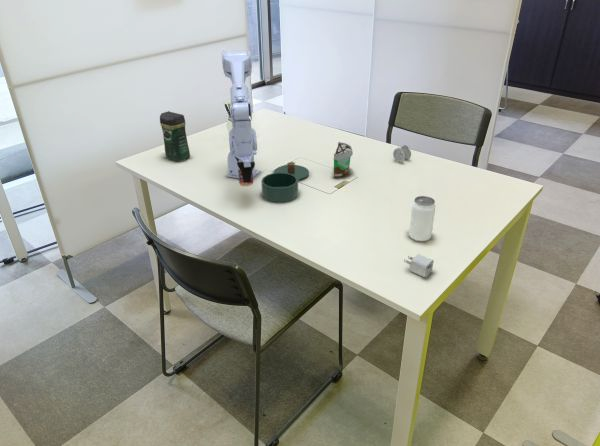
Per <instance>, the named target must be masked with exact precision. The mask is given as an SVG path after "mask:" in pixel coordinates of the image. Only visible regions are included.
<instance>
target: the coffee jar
mask: <svg viewBox="0 0 600 446" xmlns="http://www.w3.org/2000/svg"><path fill="white" fill-rule="evenodd" d="M159 124H160V127H161V130H162V136H163V144H164V151H165V152H164V154H165V158H166V159H168V160H169V161H174V162H183V161H187V160H188V159H189V158H190V157H191V153H190V148H189V143H188V138H187V132H186V119H185V115H184V114H182V113H177V112H173V111H170V110H169V111H165V112H162V113H161V114H159Z"/></svg>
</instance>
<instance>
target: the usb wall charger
mask: <svg viewBox="0 0 600 446" xmlns="http://www.w3.org/2000/svg"><path fill="white" fill-rule="evenodd" d="M407 259H409V260H407ZM407 259H403V262H404V263H406V264H408V265H410V269H409V271H410V272H412V273H414V274H416V275H419V276H420V277H423V278H427V277H428V276H429V275H430V274H431V273H432V272H433V267H434V260H433V258H429V257H427V256H425V255H423V254H419V253H418V254H416V255H415V256H414V257H412V256H409V255H408V256H407ZM410 260H411V261H410Z"/></svg>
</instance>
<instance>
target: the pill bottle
mask: <svg viewBox="0 0 600 446" xmlns="http://www.w3.org/2000/svg"><path fill="white" fill-rule="evenodd" d="M239 162H242V161H241V160H239ZM250 162H251V161H250ZM238 175H239V178H238V184H239V186H240V187H244V188H245V187H246V188H247V187H251V186H252V185H253V184H254V177H253V170H252V175H251V181H250V182H244V181H243V178H242V174H241V171H240V169H239V167H238Z"/></svg>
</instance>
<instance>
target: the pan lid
mask: <svg viewBox="0 0 600 446" xmlns="http://www.w3.org/2000/svg"><path fill="white" fill-rule="evenodd" d="M279 172H280V173H289V174H292V175H294V176H296V177H297V179H298V181H302V180H304V179H306V178H307V177H308V176H309V174H310V171H309V169H308V168H307V167H305V166H302V165H298V164H295V162H292V161H290V162H287V164H285V165H281V166H278V167H277V168H275V169H274V170H273V173H279Z"/></svg>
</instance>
